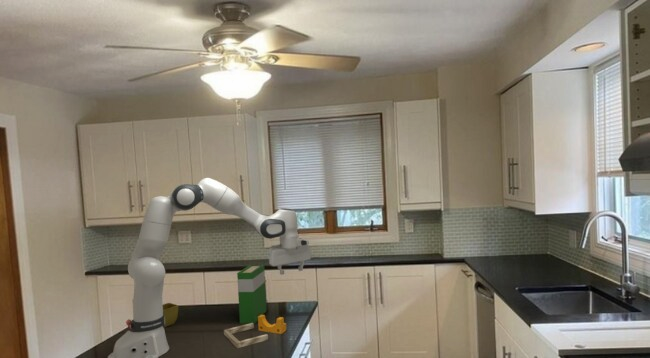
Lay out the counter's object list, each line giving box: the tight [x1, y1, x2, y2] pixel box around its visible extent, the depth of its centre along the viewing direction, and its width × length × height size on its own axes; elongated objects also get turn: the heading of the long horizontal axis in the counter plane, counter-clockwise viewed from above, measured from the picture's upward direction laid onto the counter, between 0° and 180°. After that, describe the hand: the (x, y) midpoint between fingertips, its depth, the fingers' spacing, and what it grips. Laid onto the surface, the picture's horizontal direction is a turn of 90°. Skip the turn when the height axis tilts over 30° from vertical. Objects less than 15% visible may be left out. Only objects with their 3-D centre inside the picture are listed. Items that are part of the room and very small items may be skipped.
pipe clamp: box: [257, 314, 287, 335], centre depth 178 cm, size 12×4×6 cm, turn 64°
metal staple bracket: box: [223, 323, 269, 349], centre depth 172 cm, size 14×18×2 cm
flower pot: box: [163, 302, 179, 328], centre depth 192 cm, size 9×9×9 cm
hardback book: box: [236, 264, 268, 325], centre depth 197 cm, size 18×7×24 cm, turn 170°
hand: (291, 272), depth 185 cm, fingers open, 8 cm apart
